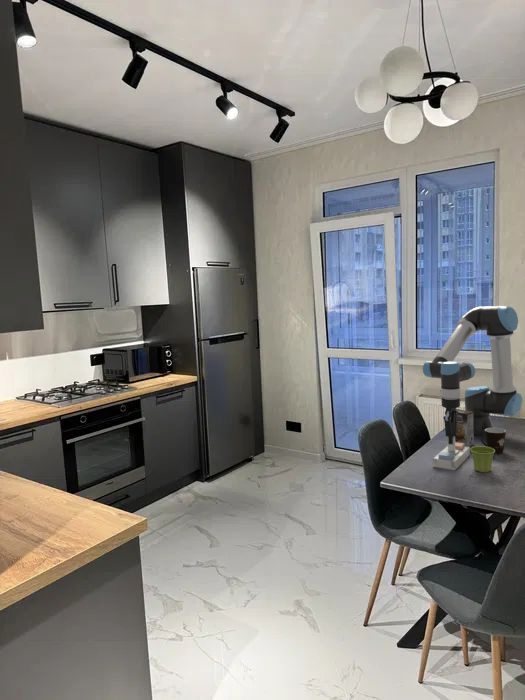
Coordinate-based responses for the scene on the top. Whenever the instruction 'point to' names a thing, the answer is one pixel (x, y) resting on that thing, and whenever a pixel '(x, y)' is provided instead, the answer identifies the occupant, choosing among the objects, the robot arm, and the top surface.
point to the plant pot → (482, 458)
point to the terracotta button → (459, 446)
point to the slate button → (446, 456)
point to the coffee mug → (495, 439)
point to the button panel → (454, 462)
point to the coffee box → (465, 428)
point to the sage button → (453, 452)
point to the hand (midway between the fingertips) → (451, 450)
